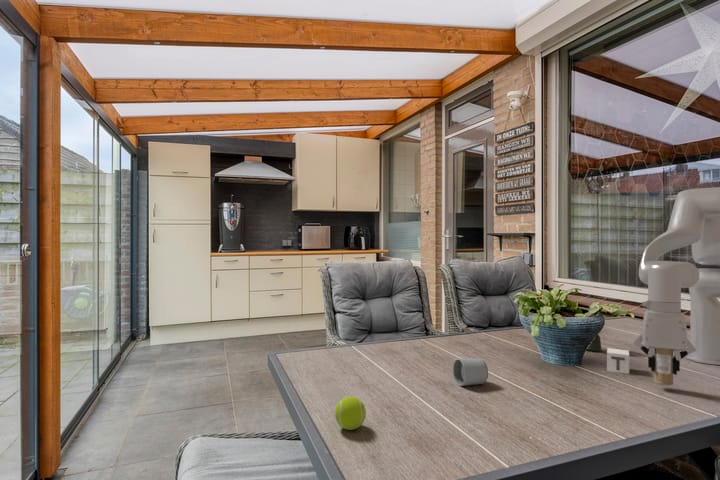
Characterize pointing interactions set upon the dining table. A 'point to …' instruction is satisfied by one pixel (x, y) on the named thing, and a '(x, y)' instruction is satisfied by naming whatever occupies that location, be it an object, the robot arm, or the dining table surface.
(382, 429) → the dining table surface
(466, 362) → the ceramic mug
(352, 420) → the tennis ball
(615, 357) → the lettered cube
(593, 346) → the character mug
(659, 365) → the sprinkles bottle
